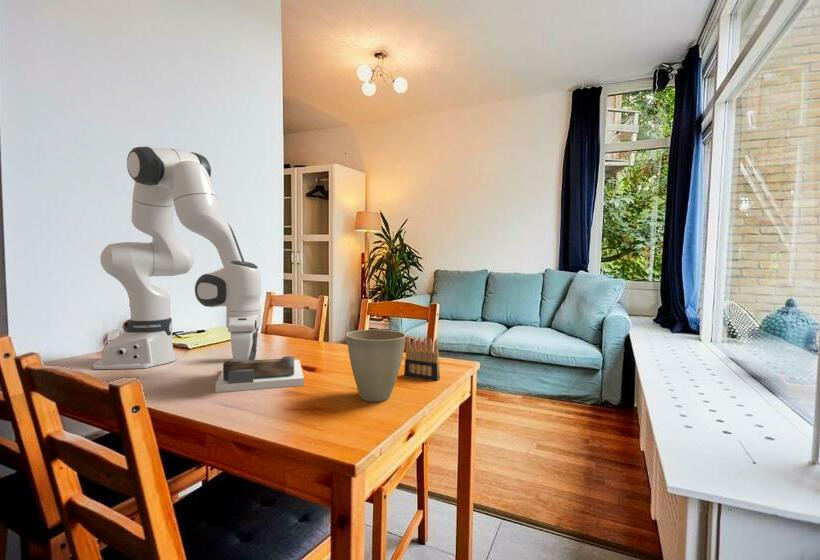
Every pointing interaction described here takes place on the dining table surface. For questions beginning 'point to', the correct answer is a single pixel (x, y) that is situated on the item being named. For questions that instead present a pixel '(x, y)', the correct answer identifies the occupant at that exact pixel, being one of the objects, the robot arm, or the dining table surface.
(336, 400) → the dining table surface
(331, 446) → the dining table surface
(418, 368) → the ammunition clip
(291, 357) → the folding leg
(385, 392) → the plant pot
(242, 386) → the shallow rectangular tray
